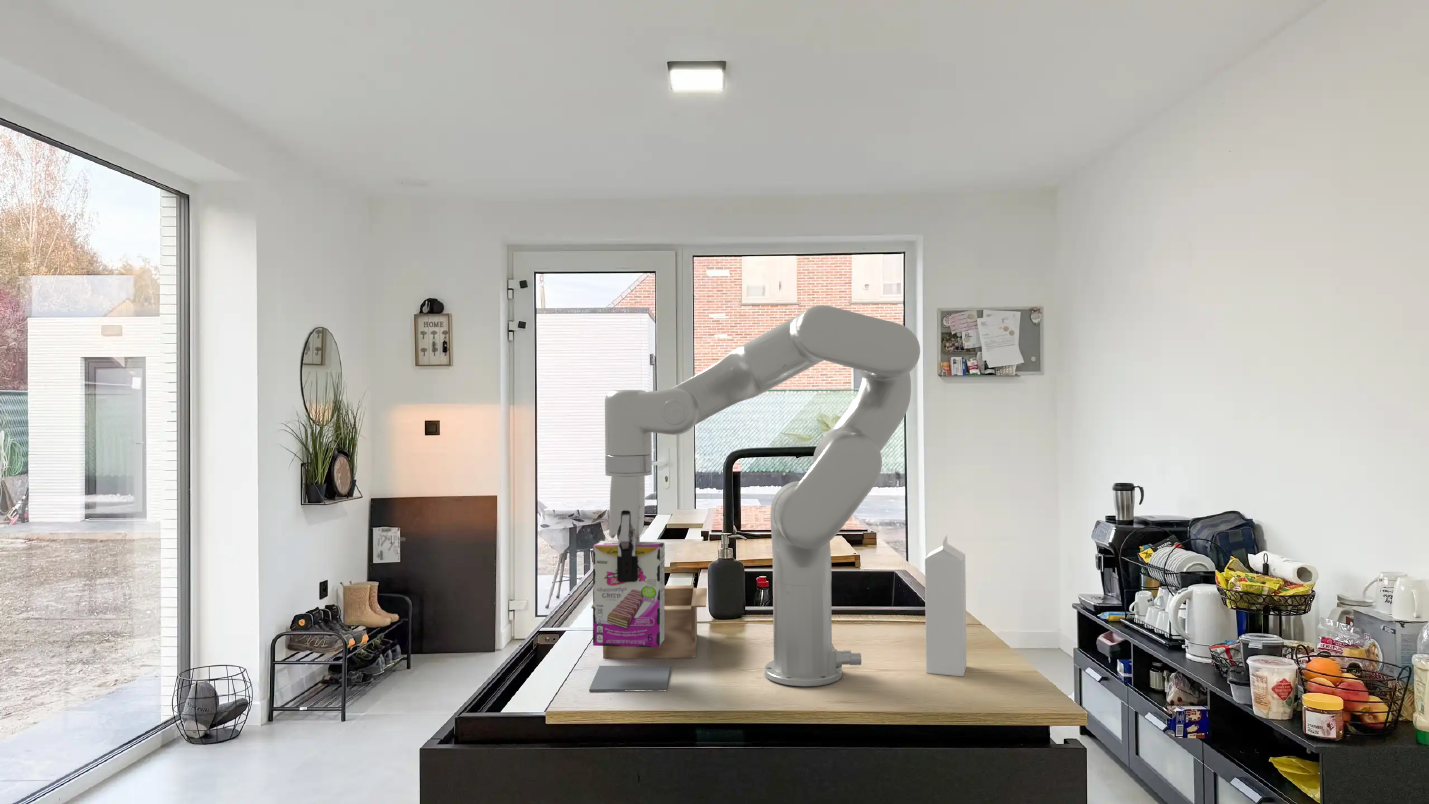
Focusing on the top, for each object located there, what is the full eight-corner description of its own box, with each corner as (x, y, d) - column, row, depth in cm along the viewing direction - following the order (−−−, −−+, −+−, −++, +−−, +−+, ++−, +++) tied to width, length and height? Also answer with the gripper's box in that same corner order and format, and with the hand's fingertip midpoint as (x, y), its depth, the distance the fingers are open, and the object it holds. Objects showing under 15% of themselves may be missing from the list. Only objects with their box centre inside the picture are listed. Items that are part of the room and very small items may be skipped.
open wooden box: (707, 631, 172) (707, 585, 171) (706, 660, 152) (705, 608, 152) (604, 632, 172) (603, 586, 172) (589, 662, 152) (589, 610, 152)
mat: (670, 667, 149) (670, 664, 149) (666, 690, 137) (666, 688, 137) (599, 668, 149) (599, 665, 149) (589, 691, 137) (589, 689, 137)
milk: (966, 666, 148) (966, 535, 147) (963, 677, 142) (963, 540, 142) (929, 662, 150) (929, 533, 150) (925, 673, 144) (924, 538, 144)
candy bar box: (591, 647, 141) (591, 545, 141) (599, 639, 146) (598, 540, 146) (661, 648, 140) (660, 545, 140) (665, 640, 145) (665, 540, 145)
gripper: (611, 462, 151) (612, 567, 151) (598, 470, 134) (599, 589, 134) (655, 461, 151) (656, 567, 151) (647, 470, 134) (648, 589, 134)
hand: (629, 576), depth 143 cm, fingers closed on candy bar box, 5 cm apart
